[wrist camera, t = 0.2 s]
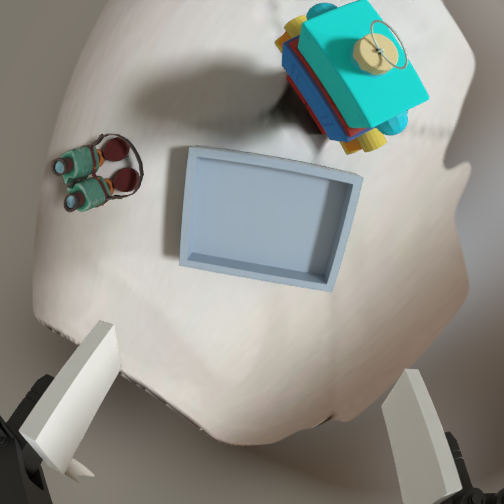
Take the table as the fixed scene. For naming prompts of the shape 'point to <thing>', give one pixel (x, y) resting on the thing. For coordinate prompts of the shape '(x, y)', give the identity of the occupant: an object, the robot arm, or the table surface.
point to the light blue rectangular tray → (266, 217)
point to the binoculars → (96, 188)
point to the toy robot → (350, 73)
